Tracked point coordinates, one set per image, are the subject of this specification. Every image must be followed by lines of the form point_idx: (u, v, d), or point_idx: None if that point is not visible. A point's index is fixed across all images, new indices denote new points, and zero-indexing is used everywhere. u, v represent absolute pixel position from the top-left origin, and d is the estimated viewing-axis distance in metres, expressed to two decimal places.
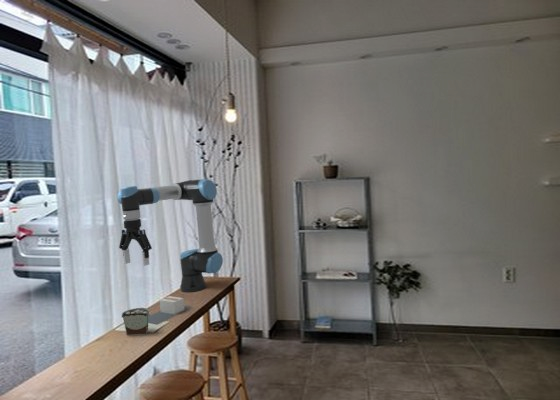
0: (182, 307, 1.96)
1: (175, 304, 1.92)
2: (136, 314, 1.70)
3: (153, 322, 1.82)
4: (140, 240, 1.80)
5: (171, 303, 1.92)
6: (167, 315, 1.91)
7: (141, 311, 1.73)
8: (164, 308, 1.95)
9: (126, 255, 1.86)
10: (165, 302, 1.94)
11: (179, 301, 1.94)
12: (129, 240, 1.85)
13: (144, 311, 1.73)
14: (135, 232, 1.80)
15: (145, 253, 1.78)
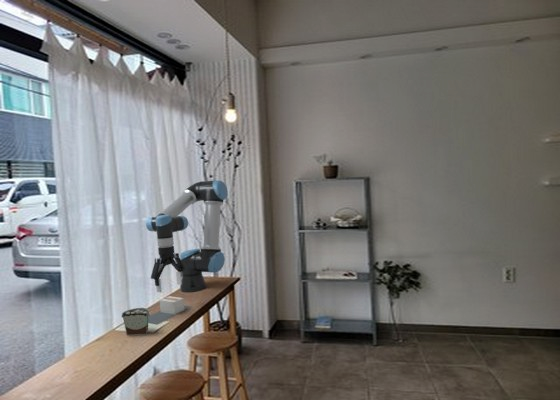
0: (182, 307, 1.96)
1: (175, 304, 1.92)
2: (136, 314, 1.70)
3: (153, 322, 1.82)
4: (159, 267, 1.91)
5: (171, 303, 1.92)
6: (167, 315, 1.91)
7: (141, 311, 1.73)
8: (164, 308, 1.95)
9: (177, 277, 2.01)
10: (165, 302, 1.94)
11: (179, 301, 1.94)
12: (173, 264, 1.98)
13: (144, 311, 1.73)
14: None
15: None
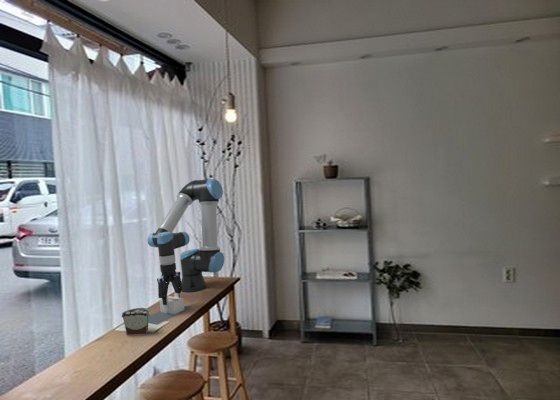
0: (182, 307, 1.96)
1: (175, 304, 1.92)
2: (136, 314, 1.70)
3: (153, 322, 1.82)
4: (164, 286, 1.93)
5: (171, 303, 1.92)
6: (167, 315, 1.91)
7: (141, 311, 1.73)
8: None
9: None
10: None
11: (179, 301, 1.94)
12: (173, 283, 1.97)
13: (144, 311, 1.73)
14: None
15: None
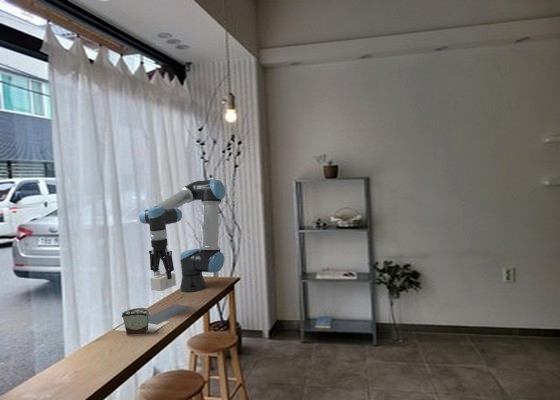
0: None
1: None
2: (136, 314, 1.70)
3: (153, 322, 1.82)
4: (165, 261, 1.89)
5: (172, 275, 1.93)
6: (167, 315, 1.91)
7: (141, 311, 1.73)
8: (164, 285, 1.88)
9: None
10: None
11: None
12: (158, 259, 1.92)
13: (144, 311, 1.73)
14: (162, 251, 1.88)
15: (168, 274, 1.89)
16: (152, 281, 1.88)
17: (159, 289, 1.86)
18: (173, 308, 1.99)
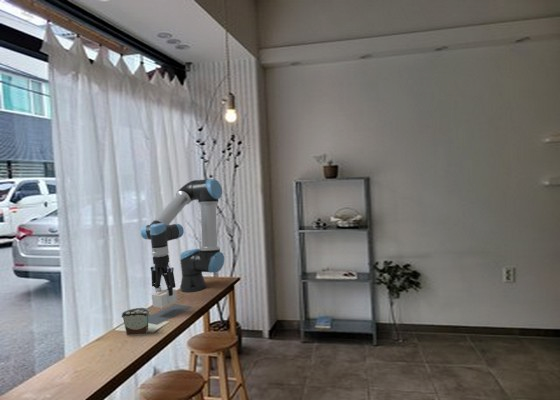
0: None
1: None
2: (136, 314, 1.70)
3: (153, 322, 1.82)
4: (167, 277, 1.90)
5: (174, 292, 1.93)
6: (167, 315, 1.91)
7: (141, 311, 1.73)
8: (166, 301, 1.89)
9: None
10: None
11: None
12: (159, 276, 1.93)
13: (144, 311, 1.73)
14: (164, 267, 1.89)
15: (169, 291, 1.89)
16: (153, 298, 1.89)
17: (160, 306, 1.87)
18: (173, 308, 1.99)
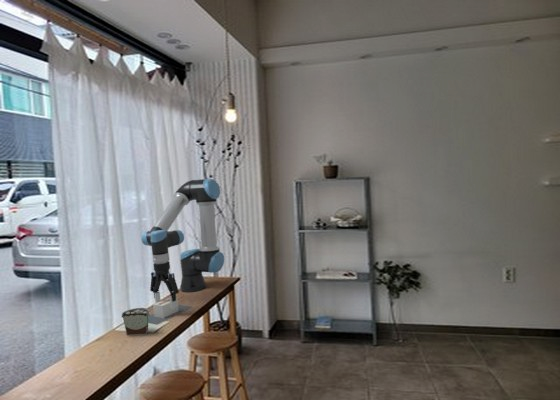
0: None
1: None
2: (136, 314, 1.70)
3: (153, 322, 1.82)
4: (168, 283, 1.89)
5: None
6: None
7: (141, 311, 1.73)
8: (167, 311, 1.89)
9: (157, 298, 1.94)
10: (169, 304, 1.90)
11: None
12: (159, 282, 1.93)
13: (144, 311, 1.73)
14: (164, 274, 1.89)
15: (172, 297, 1.89)
16: (155, 308, 1.89)
17: (162, 316, 1.88)
18: None
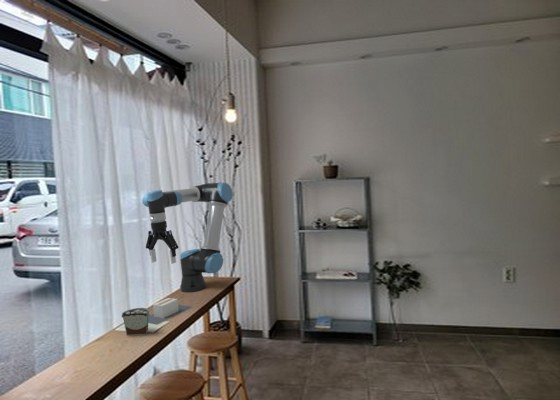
0: None
1: None
2: (136, 314, 1.70)
3: (153, 322, 1.82)
4: (167, 240, 1.94)
5: (175, 301, 1.94)
6: None
7: (141, 311, 1.73)
8: (167, 311, 1.89)
9: (152, 254, 2.00)
10: (169, 304, 1.90)
11: None
12: (155, 240, 1.98)
13: (144, 311, 1.73)
14: (162, 233, 1.94)
15: (172, 252, 1.93)
16: (155, 308, 1.89)
17: (162, 316, 1.88)
18: None
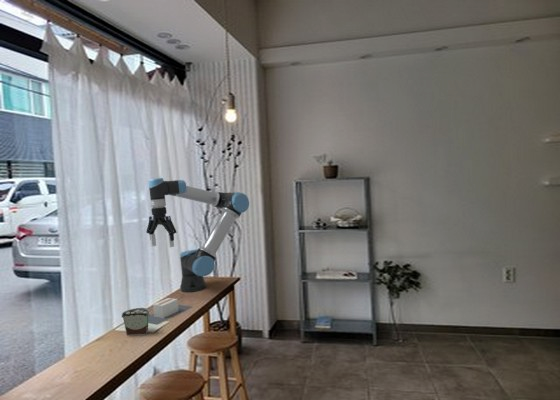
0: None
1: None
2: (136, 314, 1.70)
3: (153, 322, 1.82)
4: (166, 225, 2.06)
5: (175, 301, 1.94)
6: None
7: (141, 311, 1.73)
8: (167, 311, 1.89)
9: (152, 239, 2.12)
10: (169, 304, 1.90)
11: None
12: (155, 225, 2.11)
13: (144, 311, 1.73)
14: (162, 218, 2.06)
15: (171, 236, 2.05)
16: (155, 308, 1.89)
17: (162, 316, 1.88)
18: None
